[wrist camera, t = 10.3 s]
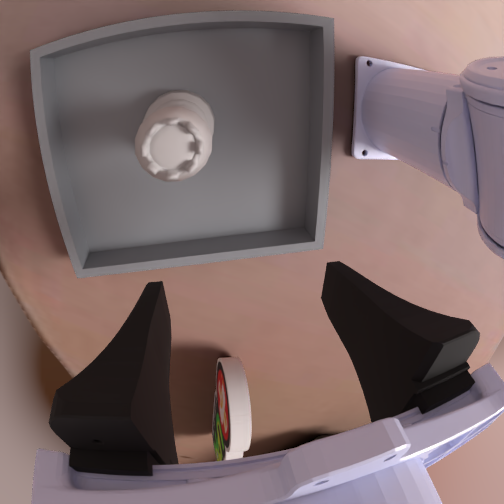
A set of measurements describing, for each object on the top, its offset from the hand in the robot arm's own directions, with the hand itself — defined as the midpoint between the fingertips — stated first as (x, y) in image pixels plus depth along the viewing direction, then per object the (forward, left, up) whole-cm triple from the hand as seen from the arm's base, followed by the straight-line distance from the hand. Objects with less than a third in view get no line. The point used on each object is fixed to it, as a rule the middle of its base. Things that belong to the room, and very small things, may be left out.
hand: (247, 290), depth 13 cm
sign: (+2, +25, -11) cm, 27 cm away
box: (+2, -5, -10) cm, 12 cm away
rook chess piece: (+2, -6, -10) cm, 12 cm away
